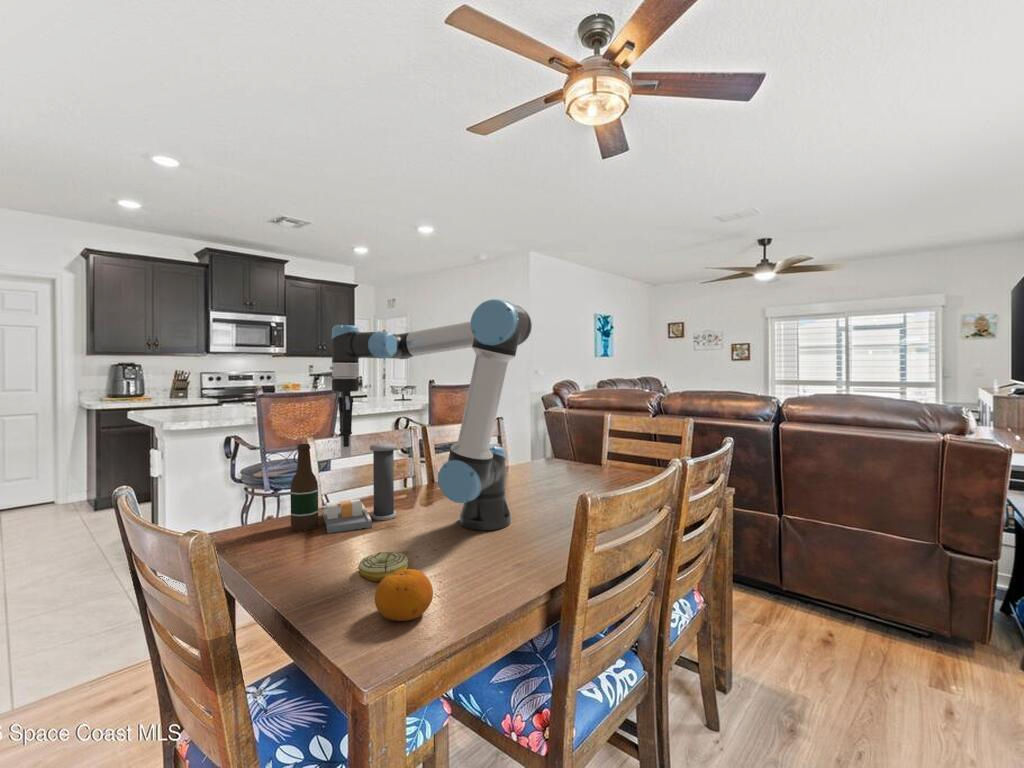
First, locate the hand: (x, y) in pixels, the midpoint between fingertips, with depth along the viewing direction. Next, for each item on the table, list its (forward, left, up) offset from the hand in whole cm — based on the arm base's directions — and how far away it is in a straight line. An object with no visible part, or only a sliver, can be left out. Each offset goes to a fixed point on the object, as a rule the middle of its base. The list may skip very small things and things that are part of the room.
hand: (345, 457), depth 144 cm
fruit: (-61, -4, -20) cm, 64 cm away
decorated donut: (-41, -4, -20) cm, 46 cm away
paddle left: (0, +4, -17) cm, 18 cm away
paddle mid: (0, 0, -17) cm, 17 cm away
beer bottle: (-1, +11, -20) cm, 23 cm away
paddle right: (0, -3, -17) cm, 18 cm away
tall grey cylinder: (0, -11, -19) cm, 22 cm away
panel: (0, 0, -19) cm, 19 cm away
